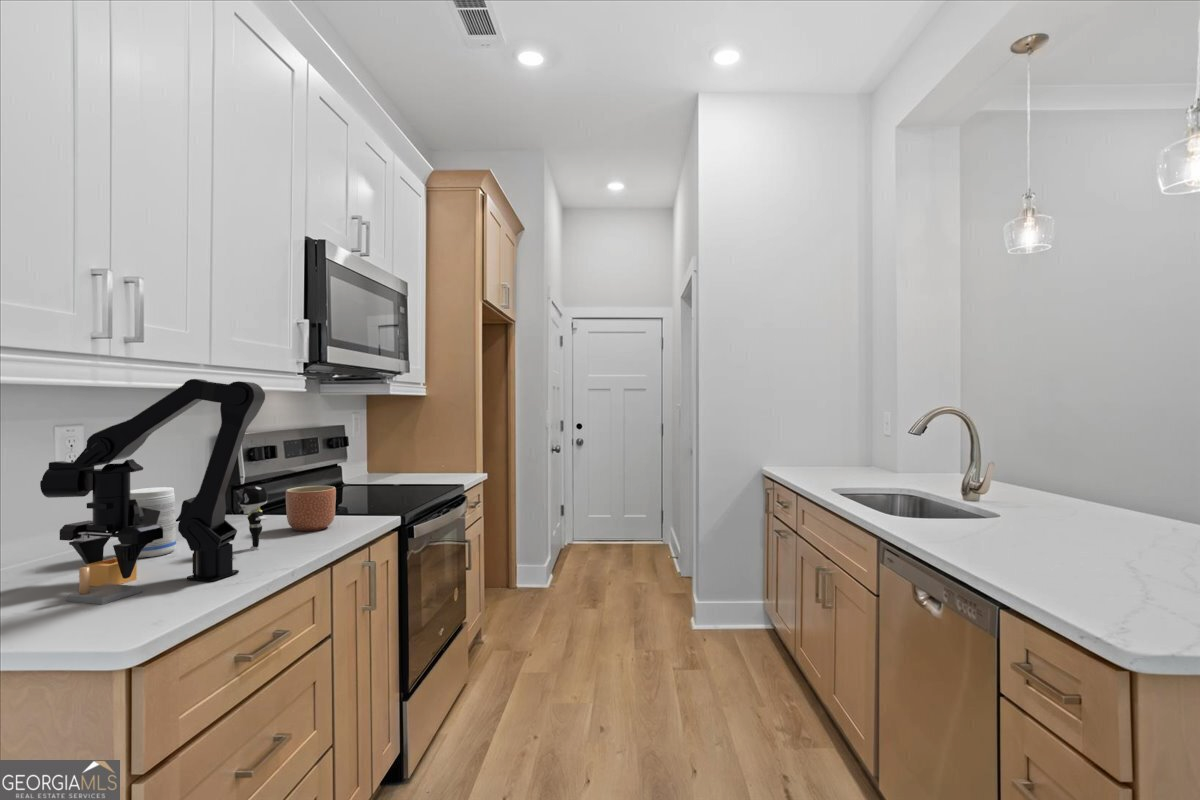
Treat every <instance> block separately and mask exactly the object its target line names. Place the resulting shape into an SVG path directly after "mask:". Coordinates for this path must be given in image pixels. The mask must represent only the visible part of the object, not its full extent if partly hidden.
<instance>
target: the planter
mask: <svg viewBox="0 0 1200 800" xmlns="http://www.w3.org/2000/svg"><path fill="white" fill-rule="evenodd" d="M336 500H337V488H336V487H335V486H331V485H306V486H298V487H292V488H288V489H286V490H285V509H286V511H285V512H286V521H287V523H288V525H289V526H290V527H291V528H292V529H293V530H295V531H298V532H313V531H319V530H323V529H326V528H328V527H329V526H330V525H331V524H332V523H333V521H334V520H335V517H336Z"/></svg>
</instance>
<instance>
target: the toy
mask: <svg viewBox="0 0 1200 800" xmlns="http://www.w3.org/2000/svg"><path fill="white" fill-rule="evenodd" d="M241 496H242V500H241V502H240V503H239V506H240V508H241V509H242V511H243V514H244V515H247V520H248V524H249V525H248V529H249V532H250V534H251V539H252V546H250V548H249V550H251V551H258V550H259V545H260V535H261V532H262V531H263V525H262V523H261V521H263V520H268V518H267V517H266V515H264V514H263V510H262V509H261V506H264V505H265V504H267V503H268V500H269V493H268V490H267V487H266V486H262V485H256V484H255V485H249V486H248V485H247V486H244V487H243V490H242V494H241Z"/></svg>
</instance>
